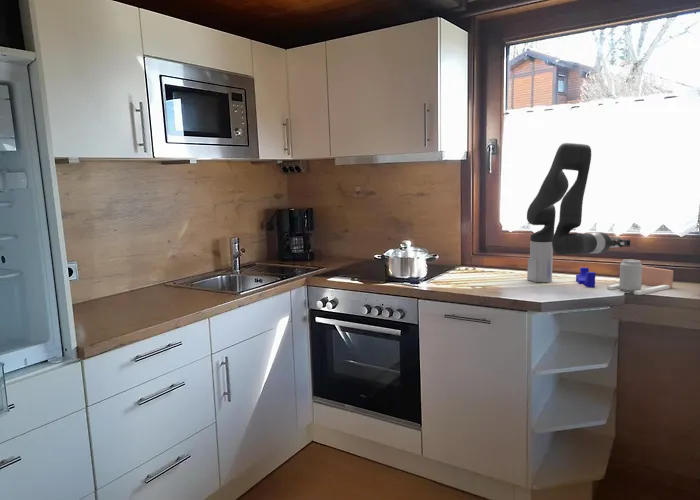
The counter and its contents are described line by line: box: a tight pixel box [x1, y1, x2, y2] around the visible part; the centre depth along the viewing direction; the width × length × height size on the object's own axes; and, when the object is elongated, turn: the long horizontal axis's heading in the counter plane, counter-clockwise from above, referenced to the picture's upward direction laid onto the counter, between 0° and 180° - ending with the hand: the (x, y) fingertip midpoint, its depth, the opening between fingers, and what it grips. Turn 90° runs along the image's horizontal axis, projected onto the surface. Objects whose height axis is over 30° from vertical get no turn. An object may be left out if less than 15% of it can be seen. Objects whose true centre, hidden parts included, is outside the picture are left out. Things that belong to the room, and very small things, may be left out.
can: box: [618, 258, 643, 293], centre depth 202 cm, size 8×8×12 cm
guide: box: [606, 265, 674, 296], centre depth 205 cm, size 22×13×7 cm, turn 120°
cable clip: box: [575, 267, 596, 288], centre depth 216 cm, size 12×4×6 cm, turn 169°
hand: (617, 241), depth 196 cm, fingers open, 8 cm apart
